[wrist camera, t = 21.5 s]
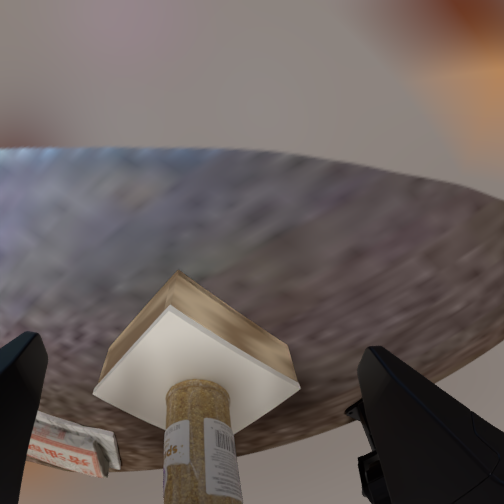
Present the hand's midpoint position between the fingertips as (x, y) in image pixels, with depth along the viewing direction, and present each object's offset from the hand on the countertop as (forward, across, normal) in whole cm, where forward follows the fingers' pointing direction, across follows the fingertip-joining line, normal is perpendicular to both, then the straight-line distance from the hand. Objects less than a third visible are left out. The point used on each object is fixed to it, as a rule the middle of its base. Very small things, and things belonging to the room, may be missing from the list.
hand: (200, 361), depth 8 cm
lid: (+9, +1, +12) cm, 15 cm away
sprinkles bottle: (+8, 0, +12) cm, 15 cm away
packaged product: (+14, +20, +31) cm, 40 cm away
